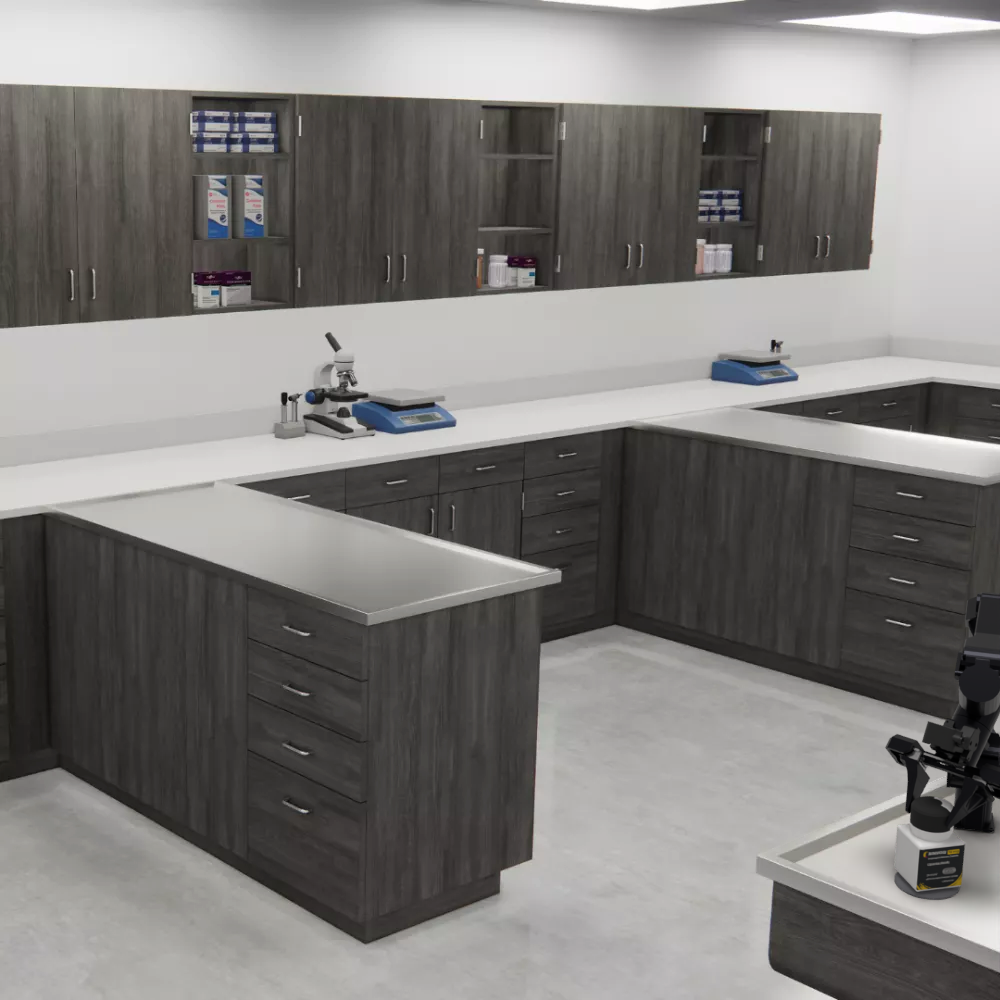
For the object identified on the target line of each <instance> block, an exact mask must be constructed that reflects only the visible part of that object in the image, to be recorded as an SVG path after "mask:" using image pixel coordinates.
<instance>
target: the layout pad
mask: <svg viewBox="0 0 1000 1000" xmlns="http://www.w3.org/2000/svg"><path fill="white" fill-rule="evenodd" d="M894 884H895V885H896V886H897V887H898V889H899V890H901V891H902V892H904V893H906V894H908V895H910V896H913V897H916V898H921V899H924V900H938V901H939V900H946V899H949V898H951V897H954V896H956V895H957V894H958V893H959V890H960V887H952V888H944V889H936V890H927V891H919V892H917V891H916V890H915V889H914V888H913V887H912V886H911V885H910V884H909V883H908V882H907V881H906V880H905V879H904V878H903V877H902V875H901V874H900V873H899V872H898V871H896V873H895V875H894Z"/></svg>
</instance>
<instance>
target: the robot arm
mask: <svg viewBox="0 0 1000 1000" xmlns="http://www.w3.org/2000/svg"><path fill="white" fill-rule="evenodd" d="M964 616H965V617H964V624H965V626H964V627H965V628H968V638H966V639H964V644H963V650H958V652H957V657H956V663H955V668H954V680H955V681H958V702H959V703H958V705H957V706H956V709H955V711H954V713H953V715H952V717H951V718H949V717H946V719H945V721H944V722H943V724H940V723H935V722H932V721H927V722H926V723H927V724H926V726H925V730H924V732H923V733H924V734H923V737H922V739H921V740H922V741H921V743H924V744H926V745H929V747H930V749H931V750H932V751H934V752H935V753H932V752H929V751H926V750H925V749H924V748H923V746H922V745H921V743H919V741H918V740H917V739H914V738H910V737H907V736H905V735H902V734H899V733H896V734H894V735H892V736H891V737H889V739H888V741H887V743H886V745H885V747H884V748H885V749H886V751H887V752H888V754H889V755H890V756H891V757H892V758H893V760H894V761H895V763H896V764H898V765H900V766H903V767H905V768H906V774H907V782H906V783H907V784H906V794H905V795H906V797H905V807H904V810H905V812H906V813H907V814H909V815H910V813H911V803H912V801H914V800H915V799H916V798H918V797H922V794H923V792H924V790H925V789H926V787H927V785H928V783H929V781H930V779H931V777H930V776H929V774H928V773H927V772H926V770H927V769H928V768H929V767H931V768H934V769H937V770H939V771H942V772H945V773H946V785H945V786H946V788H955V790H954V791H955V792H954V804H953V806H954V807H953V808H952V810H951V812H950V814H949V817H948V819H947V822H946V827H947V828H951V827H953V826H954V827H953V829H959V830H967V831H969V830H970V831H978V832H983V833H984V832H985V833H995V828H996V827H995V820H994V819H995V818H994V814H993V803H994V801H995V800H996V799H998V800H1000V733H999V732H996V730H995V724H996V723H997V721H998V719H999V716H1000V593H998V592H987V591H981V592H977V594H976V596H974V597H972V598H968V599H967V601H966V609H965V615H964Z"/></svg>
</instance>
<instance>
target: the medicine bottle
mask: <svg viewBox="0 0 1000 1000" xmlns="http://www.w3.org/2000/svg"><path fill="white" fill-rule="evenodd" d="M953 807H954V804H952V802H951V801H949V800H947V799H945V798H942V797H939V796H935V795H934V796H933V795H923V796H920V797H918V798H916V799H915V800H914V801H912V803H911V813H910V814H909V815H910V816H909V823H902V824H898V825H897V827H896V835H895V837H896V838H895V846H894V847H895V852H894V861H893V863H894V864H893V868H894V869H895V870H896V872H899V873H900V874H901V875H902V877H903V878H904V879H905V880H906V881H907V882H908V883H909V884H910V885H911V886H912V887H913V888H914V889H915V890H916V891H917V892H919V891H927V890H936V889H944V888H952V887H959V888H960V887H961V886H962V883H963V873H964V872H963V871H964V862H965V861H964V859H965V848H966V843H965V841H964V840H963V839H962V838H961V837H959V835H958V834H956V833H955V832H954V828H953V827H954V826H953V827H951V828H947V827H946V822H947V819H948V817H949V814H950V812H951V810H952V808H953Z"/></svg>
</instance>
